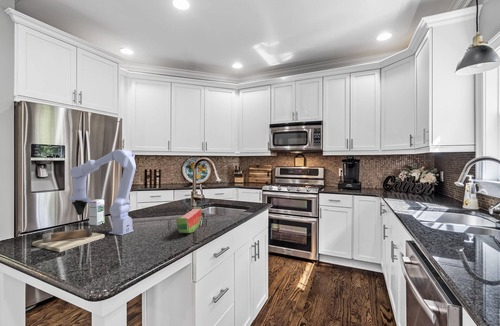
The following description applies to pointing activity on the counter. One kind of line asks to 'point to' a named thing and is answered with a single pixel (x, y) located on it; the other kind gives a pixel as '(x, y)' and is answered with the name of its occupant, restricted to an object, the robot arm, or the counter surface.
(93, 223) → the syrup box
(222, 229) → the counter surface
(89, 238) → the board
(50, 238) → the lever
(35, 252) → the counter surface
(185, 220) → the fruit slice
